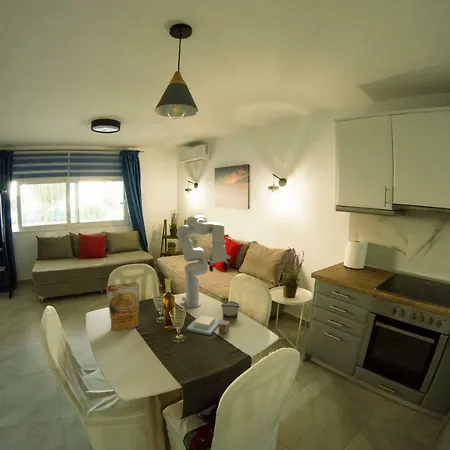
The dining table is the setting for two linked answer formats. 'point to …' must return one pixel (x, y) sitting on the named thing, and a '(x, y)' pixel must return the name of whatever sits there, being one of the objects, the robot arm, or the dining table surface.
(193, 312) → the dining table surface
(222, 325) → the walnut block
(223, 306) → the food container
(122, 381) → the dining table surface
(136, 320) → the pancake mix bag
